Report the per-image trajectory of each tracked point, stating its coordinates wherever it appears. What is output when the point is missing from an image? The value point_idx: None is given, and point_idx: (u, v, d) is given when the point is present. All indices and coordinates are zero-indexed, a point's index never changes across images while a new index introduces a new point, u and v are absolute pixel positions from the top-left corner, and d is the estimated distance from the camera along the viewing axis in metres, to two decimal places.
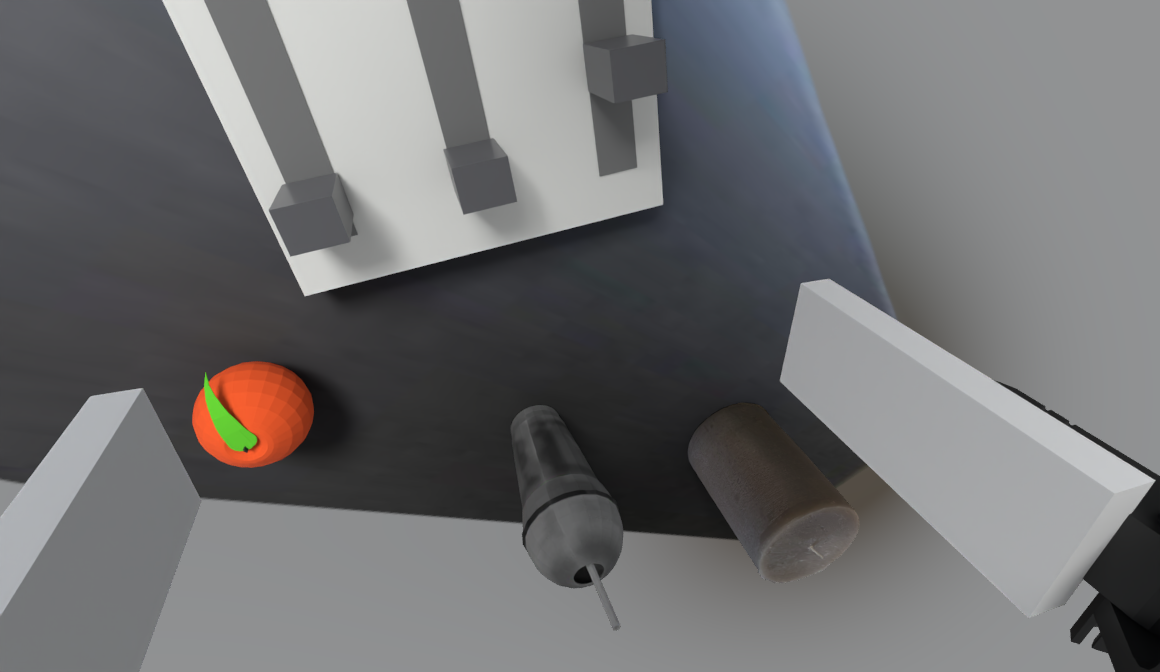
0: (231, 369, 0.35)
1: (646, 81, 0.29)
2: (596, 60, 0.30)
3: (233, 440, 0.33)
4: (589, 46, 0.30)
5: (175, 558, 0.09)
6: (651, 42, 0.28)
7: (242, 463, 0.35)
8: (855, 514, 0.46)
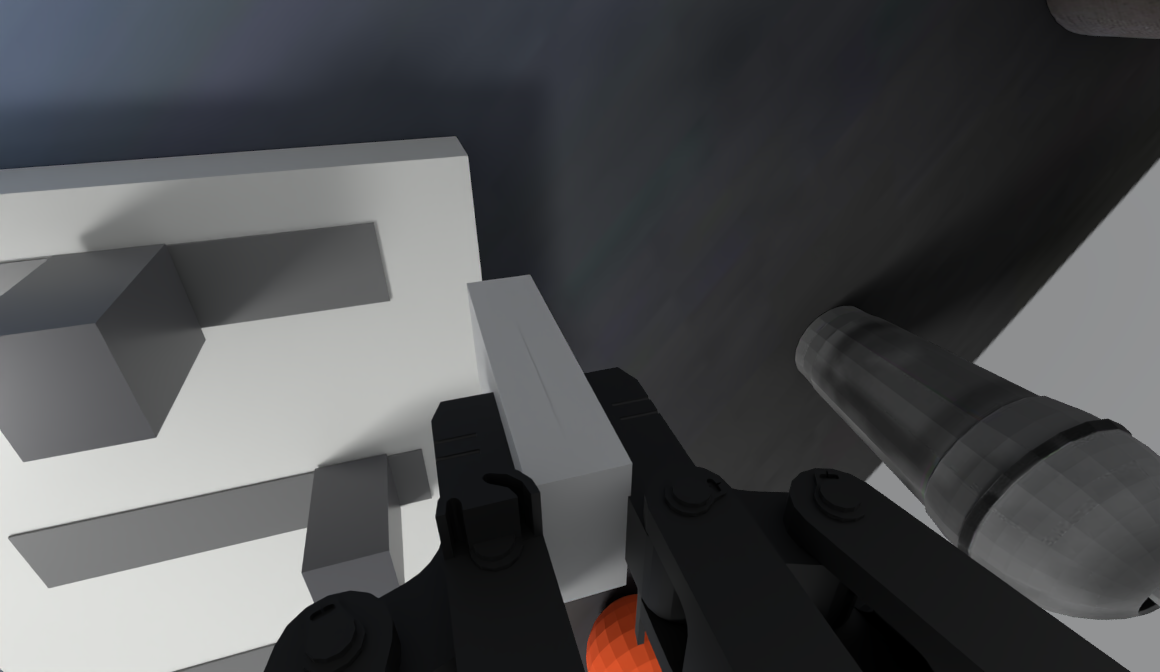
0: (587, 666, 0.33)
1: (79, 377, 0.11)
2: None
3: None
4: None
5: None
6: None
7: None
8: None
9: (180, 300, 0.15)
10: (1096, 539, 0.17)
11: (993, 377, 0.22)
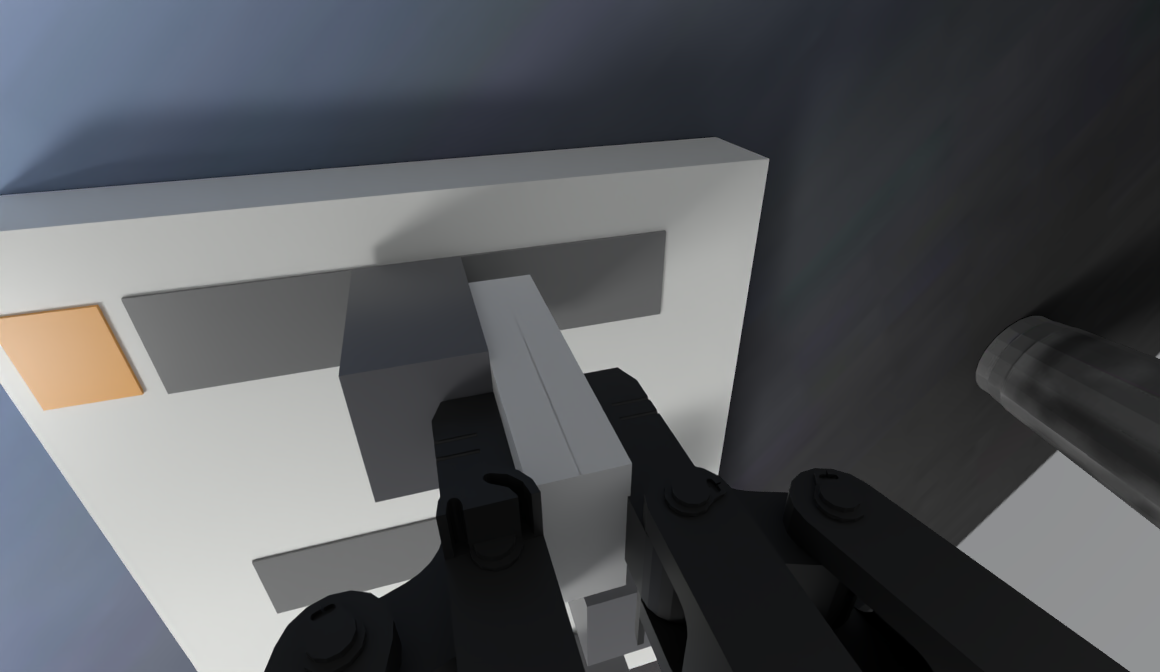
0: None
1: None
2: None
3: None
4: None
5: None
6: (350, 408, 0.10)
7: None
8: None
9: None
10: None
11: None
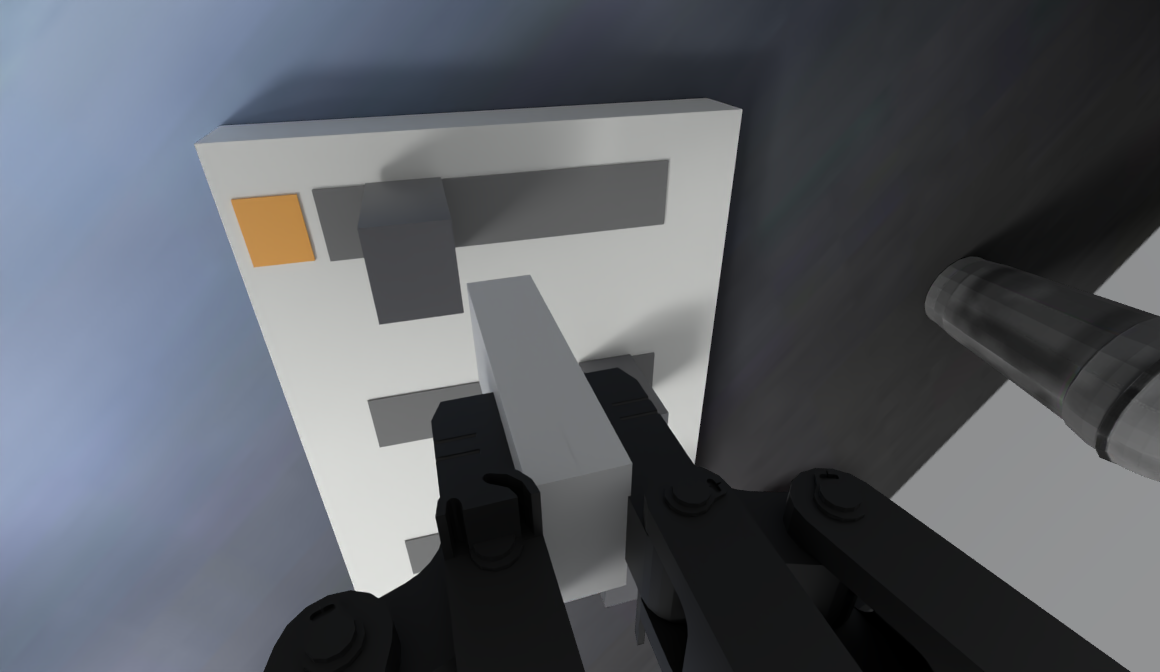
0: None
1: (430, 260, 0.16)
2: None
3: None
4: None
5: None
6: (364, 252, 0.15)
7: None
8: None
9: None
10: None
11: (1123, 305, 0.27)
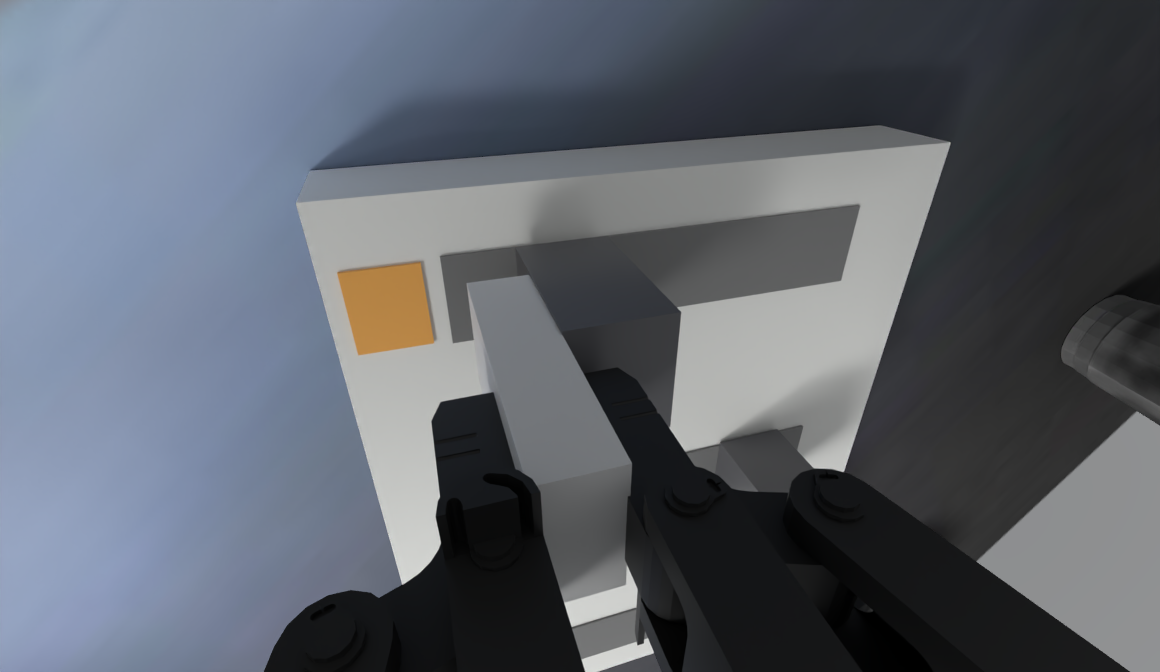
0: None
1: (644, 365, 0.12)
2: None
3: None
4: None
5: None
6: None
7: None
8: None
9: None
10: None
11: None
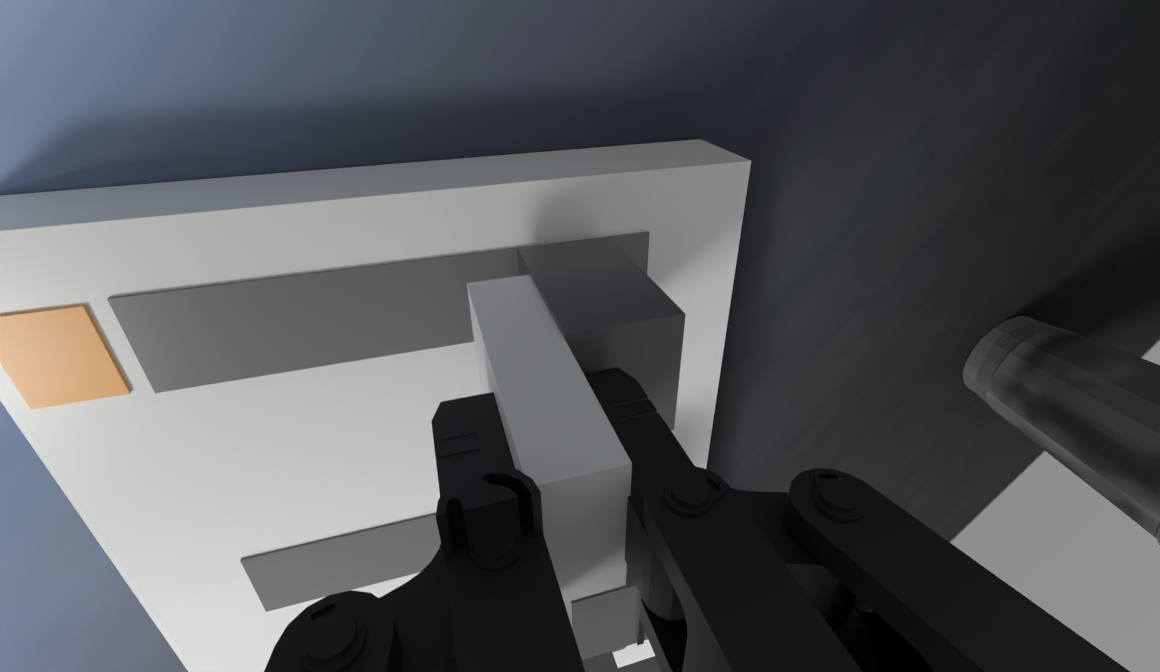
0: None
1: (648, 368, 0.11)
2: None
3: None
4: None
5: None
6: None
7: None
8: None
9: None
10: None
11: None
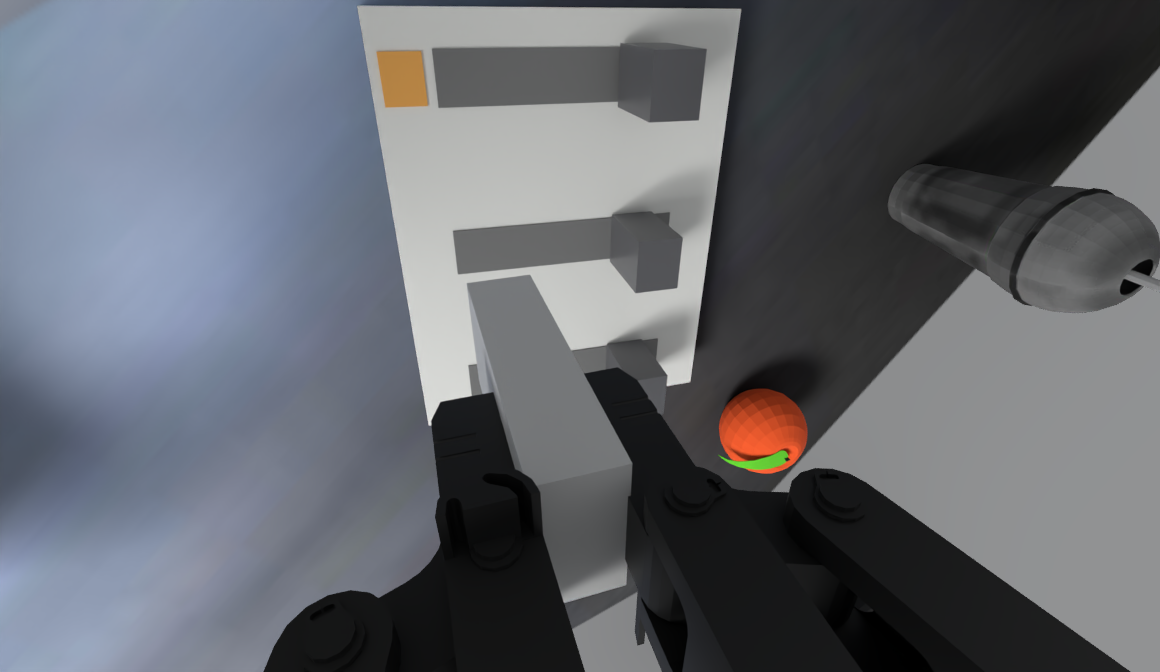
0: (721, 434, 0.45)
1: (689, 77, 0.25)
2: None
3: (776, 463, 0.43)
4: (626, 110, 0.28)
5: None
6: (653, 67, 0.24)
7: (795, 460, 0.44)
8: None
9: None
10: (1096, 242, 0.29)
11: (1034, 183, 0.34)
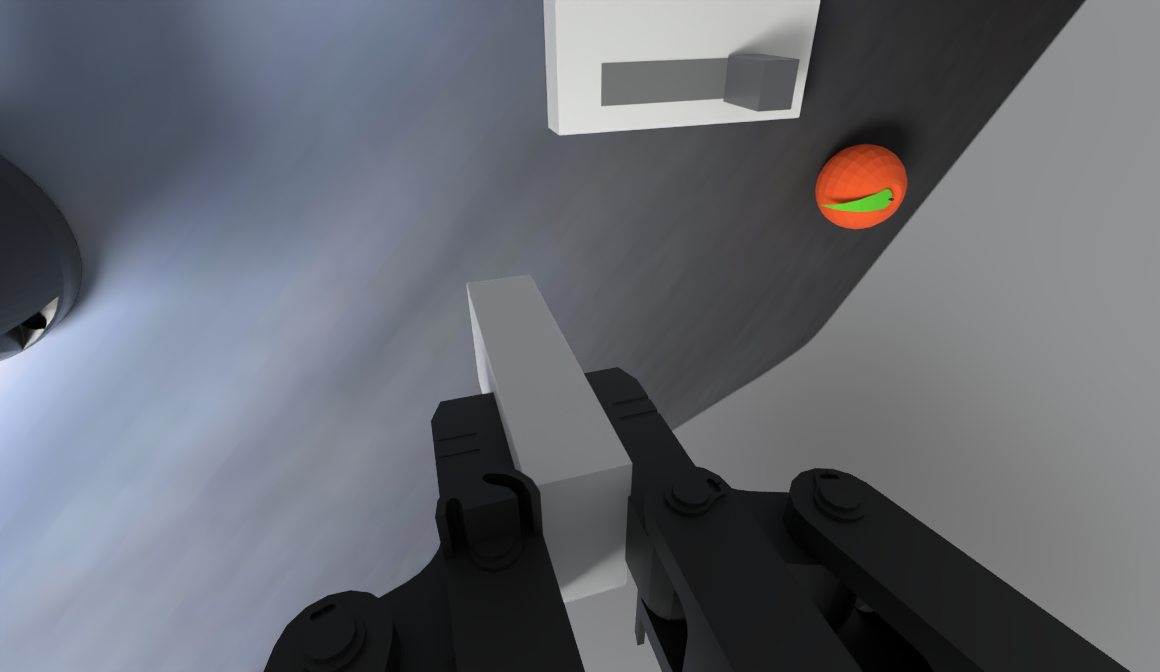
0: (821, 190, 0.47)
1: None
2: None
3: (880, 204, 0.44)
4: None
5: None
6: None
7: (897, 206, 0.45)
8: None
9: None
10: None
11: None
